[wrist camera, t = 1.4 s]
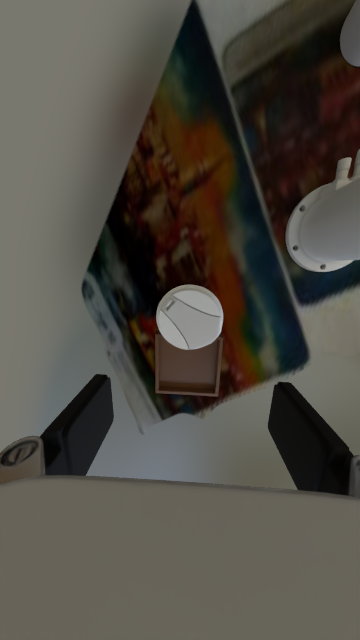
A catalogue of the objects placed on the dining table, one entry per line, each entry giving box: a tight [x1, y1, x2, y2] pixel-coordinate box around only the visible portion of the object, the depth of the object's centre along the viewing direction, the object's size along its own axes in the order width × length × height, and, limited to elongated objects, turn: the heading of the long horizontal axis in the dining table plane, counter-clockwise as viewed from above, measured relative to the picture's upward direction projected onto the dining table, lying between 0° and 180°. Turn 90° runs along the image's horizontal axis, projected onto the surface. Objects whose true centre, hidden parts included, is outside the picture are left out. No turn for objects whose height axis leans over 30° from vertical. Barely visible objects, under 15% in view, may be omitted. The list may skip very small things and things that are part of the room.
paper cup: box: [156, 285, 223, 350], centre depth 27 cm, size 8×8×14 cm
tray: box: [155, 331, 223, 396], centre depth 36 cm, size 12×12×2 cm
